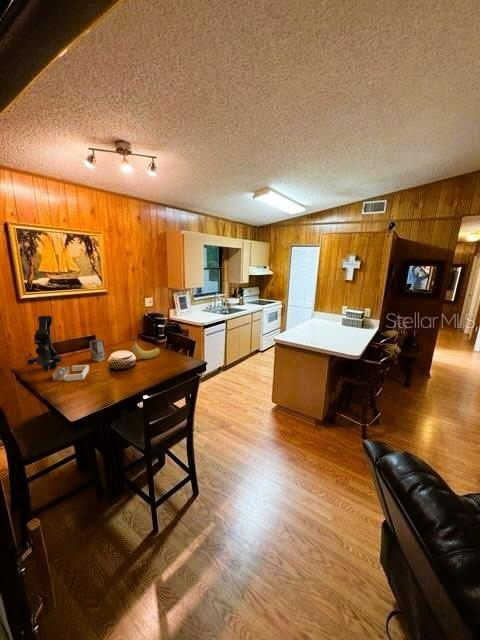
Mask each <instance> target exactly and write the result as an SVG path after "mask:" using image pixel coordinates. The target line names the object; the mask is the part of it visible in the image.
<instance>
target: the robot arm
mask: <svg viewBox="0 0 480 640" xmlns="http://www.w3.org/2000/svg"><path fill="white" fill-rule="evenodd" d="M37 322H38V329H37V330H36V331H35V334H34V336H33V337H34V342H33V343H34V345H37V347H36V349H35V354H36V355H38V356H37V357H31V358H29V359H28V360H27V365H28V366H29V365H34V364H35V363H36V365H38V366H41V367H42V368H43V369H44V371H45V372H46V373H48V372H49V370H51V369H52V370H53V369H56V368H58V365H59V364H58V363H61V362H62V361H63V359H64V358H63V356H62V355H58V353H57V352H56V350H55V349H54V347H53V344H52V333H51V327H52V325H53V322H54V318H53V316H51V315H40V316H37Z"/></svg>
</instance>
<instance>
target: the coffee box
mask: <svg viewBox="0 0 480 640" xmlns="http://www.w3.org/2000/svg"><path fill="white" fill-rule="evenodd" d="M89 347H90V348H89V349H90V350H89V351H90V357H91V361H96V362H101V361H104V360H106V354H105V353H106V352H105V343H104V339H103V340H102V339H97V338H95V339H93V340H89Z"/></svg>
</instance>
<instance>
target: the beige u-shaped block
mask: <svg viewBox="0 0 480 640" xmlns="http://www.w3.org/2000/svg"><path fill="white" fill-rule="evenodd" d="M71 369H72V372H81V373H74V374H68V375H65V380H64V381H65V382H71V381H72V382H73V381H81V380H85V378H86V376H87V374H88V372H89V371H90V364H82V365H81V364H80V365H79V364H78V365H72V366H71Z"/></svg>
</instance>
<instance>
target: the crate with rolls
mask: <svg viewBox="0 0 480 640" xmlns="http://www.w3.org/2000/svg"><path fill="white" fill-rule="evenodd" d="M70 373H71V371H70V366H64V367H63V366H62V367H60V366H59V367H57V369H56V370H55V371H54V372H53V373H52V381H54V382H55V381H65V375H70Z"/></svg>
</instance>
